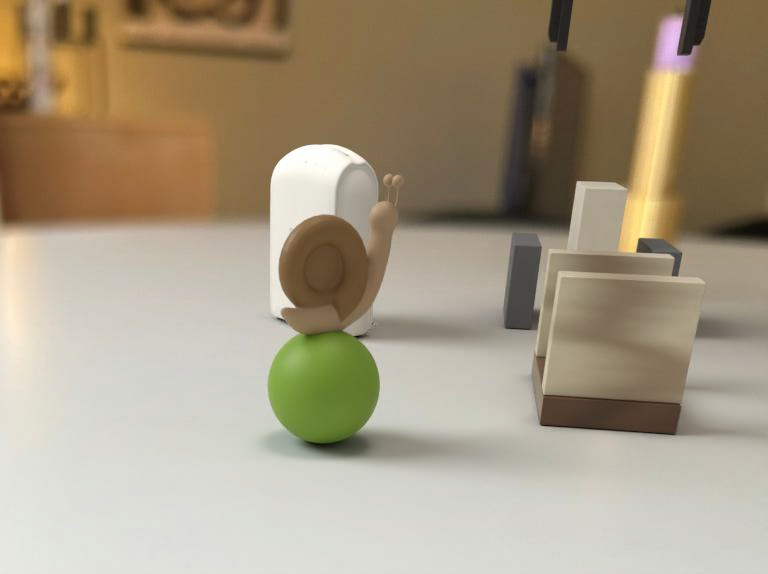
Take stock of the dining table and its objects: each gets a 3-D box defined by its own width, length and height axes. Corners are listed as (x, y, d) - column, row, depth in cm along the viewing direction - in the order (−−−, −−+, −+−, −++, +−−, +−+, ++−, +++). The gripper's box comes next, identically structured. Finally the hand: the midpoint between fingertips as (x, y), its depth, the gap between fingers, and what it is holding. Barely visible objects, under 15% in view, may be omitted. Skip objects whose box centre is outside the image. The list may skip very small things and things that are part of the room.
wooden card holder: (645, 380, 62) (669, 253, 59) (676, 434, 52) (708, 283, 48) (531, 373, 63) (548, 248, 60) (539, 424, 53) (560, 276, 49)
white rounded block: (261, 316, 79) (263, 141, 73) (308, 312, 80) (313, 141, 75) (329, 341, 71) (336, 147, 65) (379, 336, 73) (391, 147, 67)
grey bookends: (649, 316, 83) (664, 238, 80) (666, 337, 75) (683, 252, 72) (503, 308, 84) (512, 232, 82) (504, 327, 77) (514, 244, 74)
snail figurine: (414, 445, 49) (437, 178, 44) (305, 464, 46) (315, 179, 40) (350, 418, 53) (364, 170, 48) (246, 434, 50) (248, 171, 44)
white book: (594, 314, 83) (615, 182, 78) (603, 332, 76) (628, 189, 71) (557, 312, 83) (576, 181, 79) (563, 330, 76) (585, 187, 72)
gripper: (557, -258, 61) (521, 49, 69) (803, -264, 59) (738, 53, 67) (551, -222, 68) (519, 54, 75) (772, -226, 66) (715, 58, 73)
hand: (621, 53), depth 71 cm, fingers open, 8 cm apart
